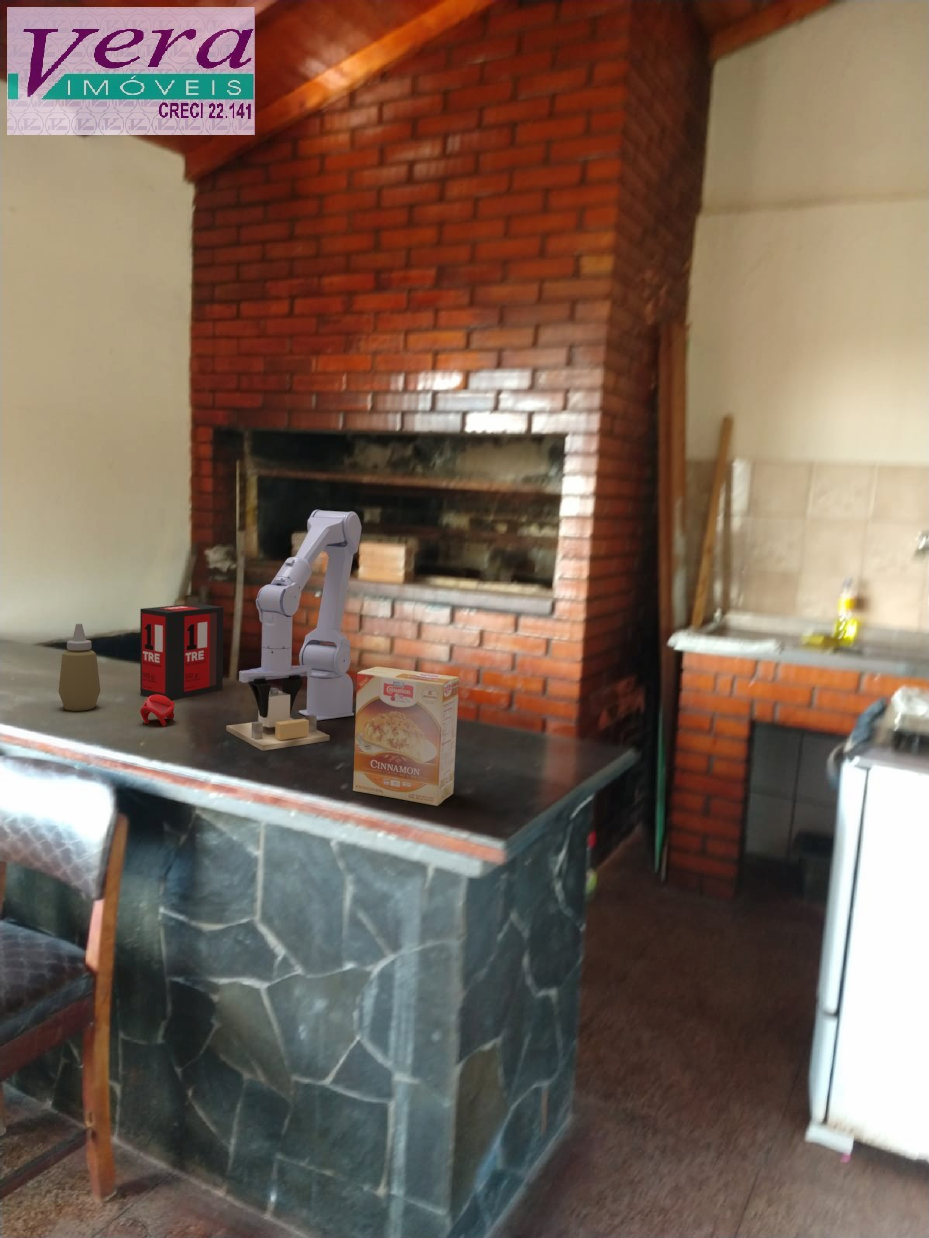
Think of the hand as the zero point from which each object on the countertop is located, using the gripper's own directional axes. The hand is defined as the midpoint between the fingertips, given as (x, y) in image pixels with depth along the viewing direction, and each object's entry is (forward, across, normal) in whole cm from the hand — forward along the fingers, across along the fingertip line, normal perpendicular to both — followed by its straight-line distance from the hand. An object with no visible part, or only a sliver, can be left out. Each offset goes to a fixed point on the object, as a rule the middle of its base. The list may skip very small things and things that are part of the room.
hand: (275, 714), depth 167 cm
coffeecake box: (+4, -2, +41) cm, 41 cm away
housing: (+2, 0, 0) cm, 2 cm away
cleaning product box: (+4, +2, -43) cm, 43 cm away
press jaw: (+3, 0, +7) cm, 7 cm away
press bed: (+4, 0, +1) cm, 4 cm away
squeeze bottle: (+4, +26, -38) cm, 46 cm away
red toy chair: (+4, +16, -19) cm, 25 cm away
